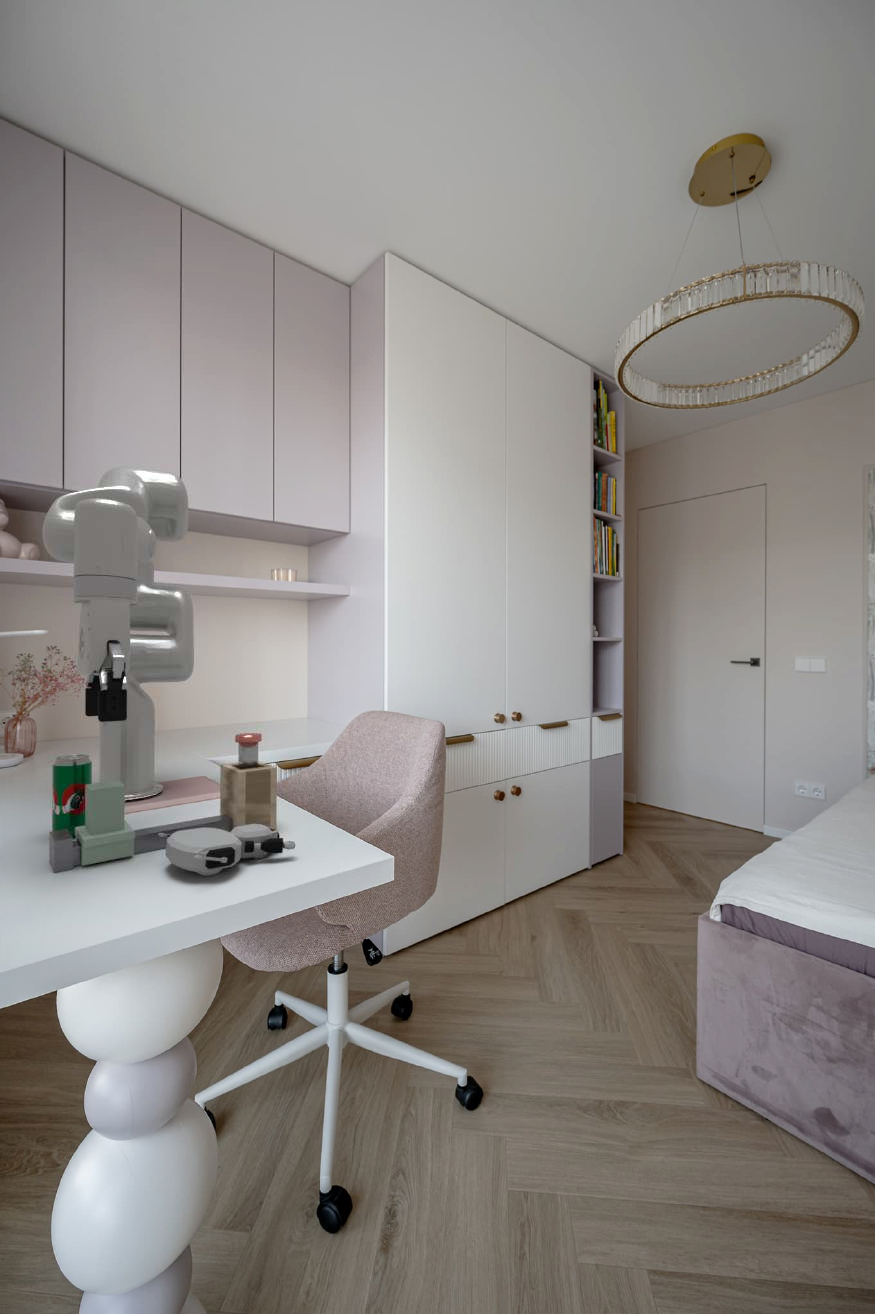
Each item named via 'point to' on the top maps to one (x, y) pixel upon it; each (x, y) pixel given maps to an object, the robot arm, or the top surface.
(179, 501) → the robot arm
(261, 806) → the open wooden box
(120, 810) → the carriage
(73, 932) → the top surface
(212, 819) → the rail
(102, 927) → the top surface
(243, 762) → the plunger
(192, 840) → the robot toy
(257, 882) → the top surface
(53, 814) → the soda can
